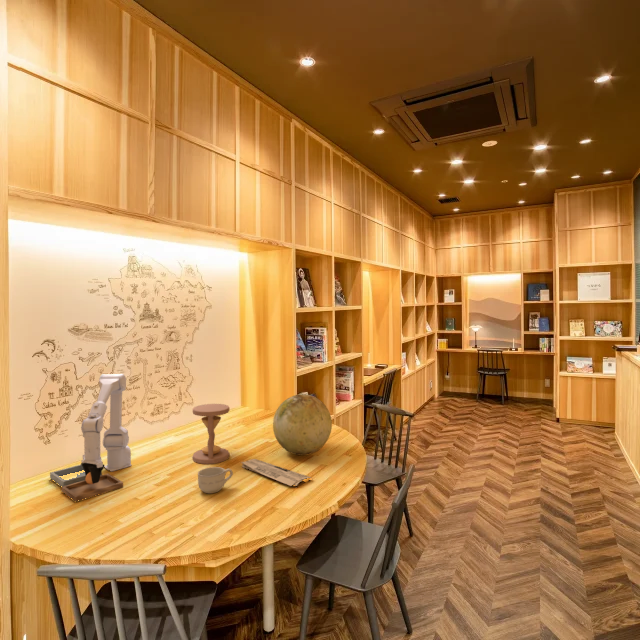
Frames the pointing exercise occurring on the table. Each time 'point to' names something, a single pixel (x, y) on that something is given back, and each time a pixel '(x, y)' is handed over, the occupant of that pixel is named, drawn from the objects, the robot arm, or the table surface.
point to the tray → (92, 487)
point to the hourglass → (211, 433)
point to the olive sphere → (302, 424)
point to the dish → (66, 471)
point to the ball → (89, 478)
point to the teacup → (212, 479)
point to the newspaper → (274, 472)
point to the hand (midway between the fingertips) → (92, 480)
